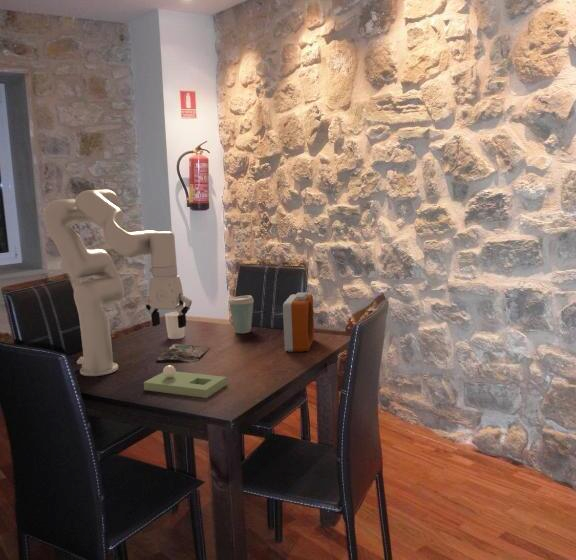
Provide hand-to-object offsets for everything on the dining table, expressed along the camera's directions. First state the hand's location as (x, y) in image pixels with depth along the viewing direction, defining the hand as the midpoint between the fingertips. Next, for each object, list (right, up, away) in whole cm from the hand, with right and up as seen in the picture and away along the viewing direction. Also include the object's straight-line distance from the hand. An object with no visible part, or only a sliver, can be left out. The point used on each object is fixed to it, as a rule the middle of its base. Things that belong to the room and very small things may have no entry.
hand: (169, 326), depth 182 cm
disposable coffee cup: (+18, -8, +66) cm, 69 cm away
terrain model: (-1, -14, +36) cm, 39 cm away
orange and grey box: (+42, -11, +41) cm, 59 cm away
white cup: (-9, -10, +61) cm, 63 cm away
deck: (+5, -19, 0) cm, 20 cm away
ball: (0, -14, +1) cm, 14 cm away
